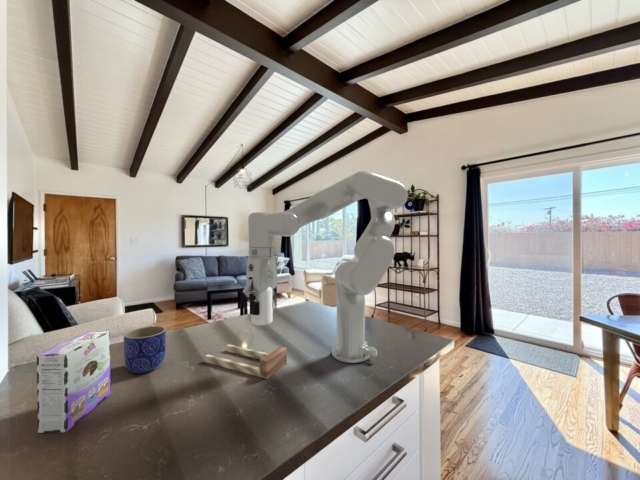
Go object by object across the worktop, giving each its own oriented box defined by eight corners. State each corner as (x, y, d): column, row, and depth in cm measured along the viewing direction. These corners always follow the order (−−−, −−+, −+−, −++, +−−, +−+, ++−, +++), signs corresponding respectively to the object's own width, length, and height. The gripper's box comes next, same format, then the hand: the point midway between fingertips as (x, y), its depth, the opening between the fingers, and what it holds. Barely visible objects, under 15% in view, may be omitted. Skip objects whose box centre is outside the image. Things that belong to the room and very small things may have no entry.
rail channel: (286, 363, 88) (286, 347, 88) (266, 378, 79) (266, 361, 78) (228, 349, 98) (228, 335, 98) (205, 361, 89) (205, 346, 89)
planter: (174, 362, 89) (174, 327, 88) (144, 379, 78) (143, 340, 78) (147, 358, 92) (146, 324, 91) (114, 374, 81) (114, 336, 81)
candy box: (87, 395, 70) (86, 330, 70) (112, 394, 71) (111, 330, 71) (35, 434, 57) (34, 353, 56) (66, 432, 57) (65, 353, 57)
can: (270, 326, 82) (269, 285, 82) (248, 326, 82) (248, 285, 82) (274, 319, 89) (274, 282, 88) (254, 319, 89) (253, 282, 89)
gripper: (252, 255, 76) (253, 321, 76) (287, 251, 91) (287, 306, 92) (231, 254, 79) (232, 317, 79) (268, 251, 95) (268, 303, 95)
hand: (262, 310), depth 86 cm, fingers closed on can, 6 cm apart
